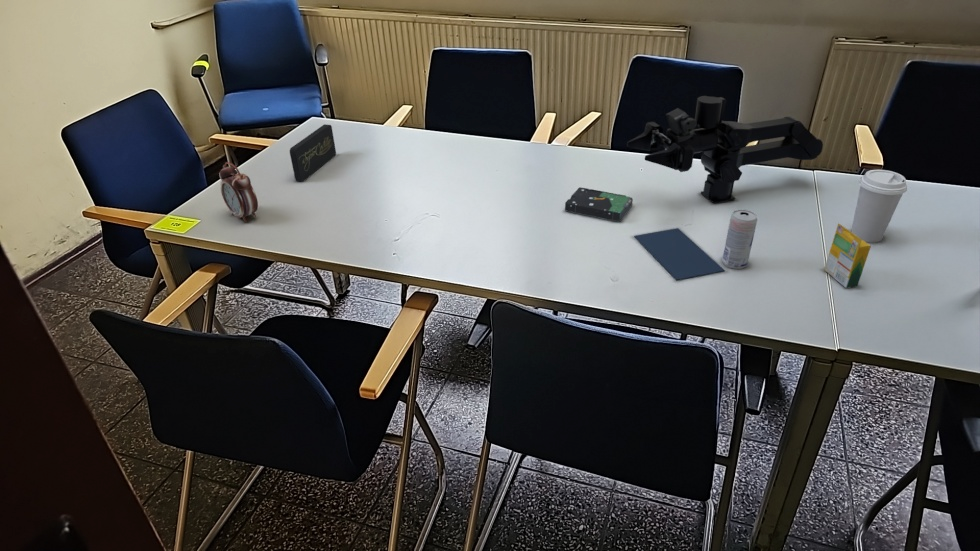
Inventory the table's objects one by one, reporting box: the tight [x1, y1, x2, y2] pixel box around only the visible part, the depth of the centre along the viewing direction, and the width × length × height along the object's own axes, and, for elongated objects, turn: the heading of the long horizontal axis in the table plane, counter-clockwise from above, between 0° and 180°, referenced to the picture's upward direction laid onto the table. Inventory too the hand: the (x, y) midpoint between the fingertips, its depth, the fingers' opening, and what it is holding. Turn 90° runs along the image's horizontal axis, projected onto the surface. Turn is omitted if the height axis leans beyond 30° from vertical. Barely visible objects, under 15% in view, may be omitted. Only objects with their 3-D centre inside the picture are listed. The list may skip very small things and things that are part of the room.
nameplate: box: [289, 124, 337, 182], centre depth 193 cm, size 21×2×10 cm, turn 163°
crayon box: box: [823, 222, 872, 289], centre depth 136 cm, size 7×3×12 cm, turn 12°
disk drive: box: [564, 187, 634, 222], centre depth 168 cm, size 10×3×15 cm
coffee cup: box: [850, 169, 908, 244], centre depth 149 cm, size 10×10×15 cm
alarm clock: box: [218, 161, 259, 223], centre depth 167 cm, size 11×5×15 cm, turn 47°
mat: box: [633, 227, 726, 281], centre depth 149 cm, size 12×20×1 cm, turn 16°
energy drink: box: [721, 209, 758, 270], centre depth 142 cm, size 5×5×12 cm
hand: (635, 151), depth 157 cm, fingers open, 9 cm apart
